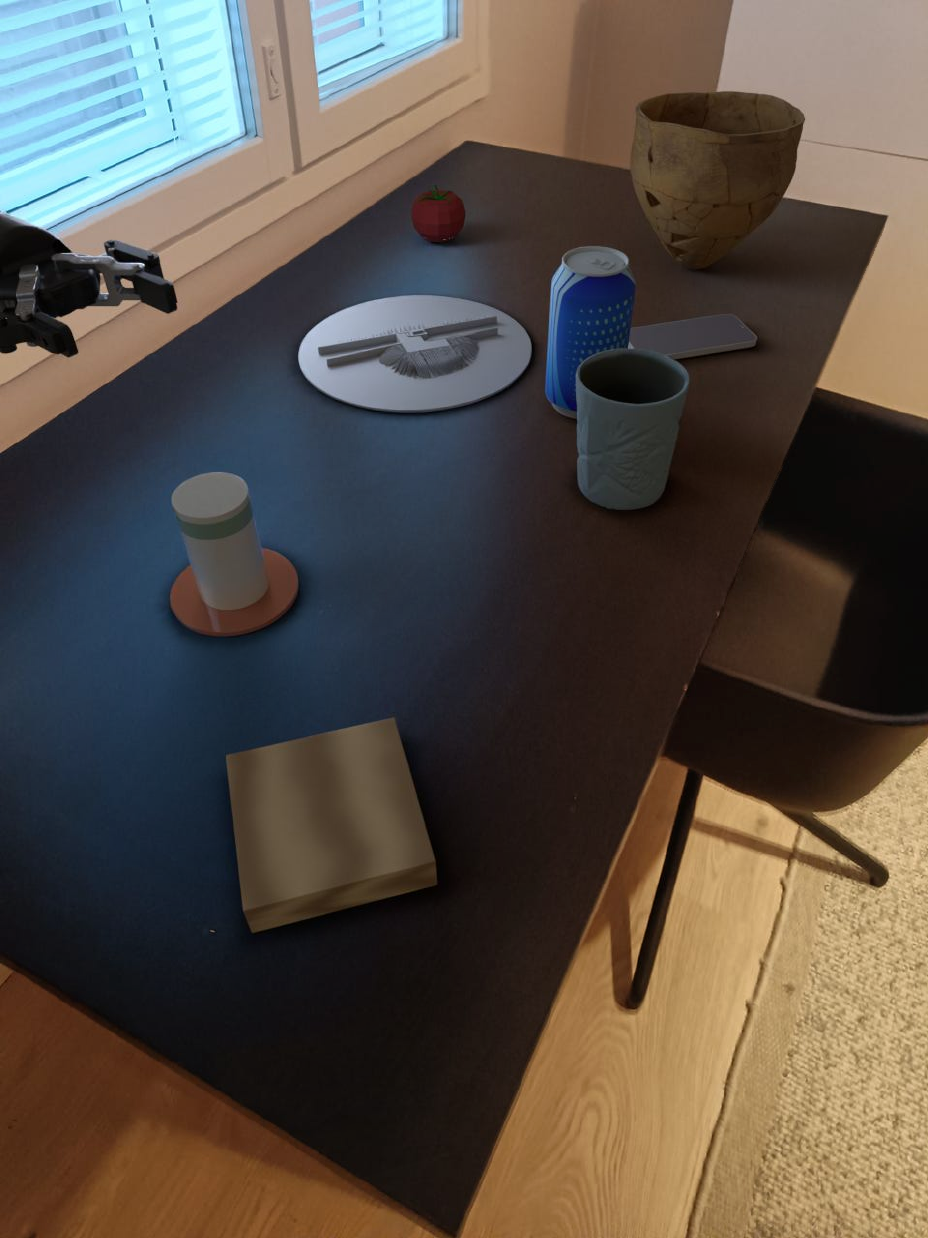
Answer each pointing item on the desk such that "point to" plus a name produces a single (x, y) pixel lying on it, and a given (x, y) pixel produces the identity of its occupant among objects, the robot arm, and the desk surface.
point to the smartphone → (693, 336)
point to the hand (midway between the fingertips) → (123, 320)
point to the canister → (221, 539)
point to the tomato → (438, 215)
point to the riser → (326, 824)
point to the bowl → (712, 167)
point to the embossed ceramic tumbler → (627, 425)
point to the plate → (415, 353)
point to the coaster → (241, 620)
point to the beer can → (586, 317)
